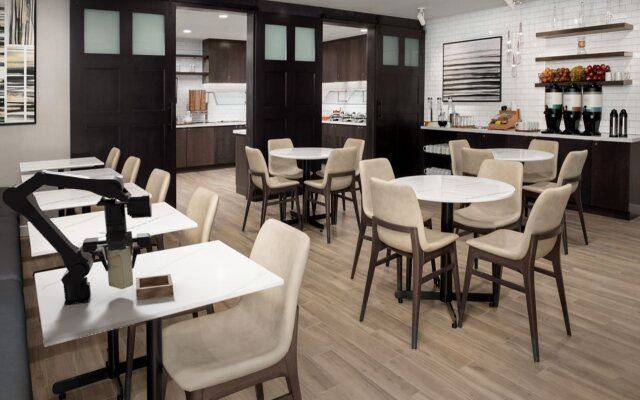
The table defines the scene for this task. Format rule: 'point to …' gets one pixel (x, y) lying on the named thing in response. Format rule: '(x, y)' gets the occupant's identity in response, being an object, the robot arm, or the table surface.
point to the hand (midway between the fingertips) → (120, 269)
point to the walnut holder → (154, 286)
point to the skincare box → (120, 268)
